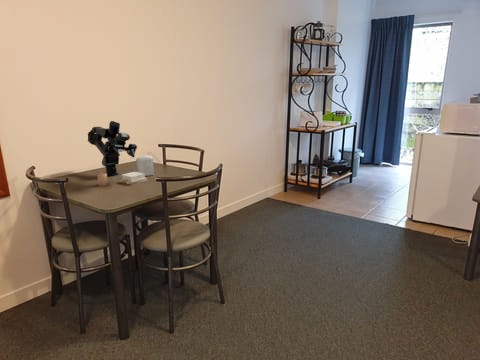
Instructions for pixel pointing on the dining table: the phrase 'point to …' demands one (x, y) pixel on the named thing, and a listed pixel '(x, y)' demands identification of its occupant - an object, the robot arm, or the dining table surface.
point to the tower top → (133, 176)
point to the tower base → (133, 181)
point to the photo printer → (145, 165)
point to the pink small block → (102, 179)
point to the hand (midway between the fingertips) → (126, 156)
